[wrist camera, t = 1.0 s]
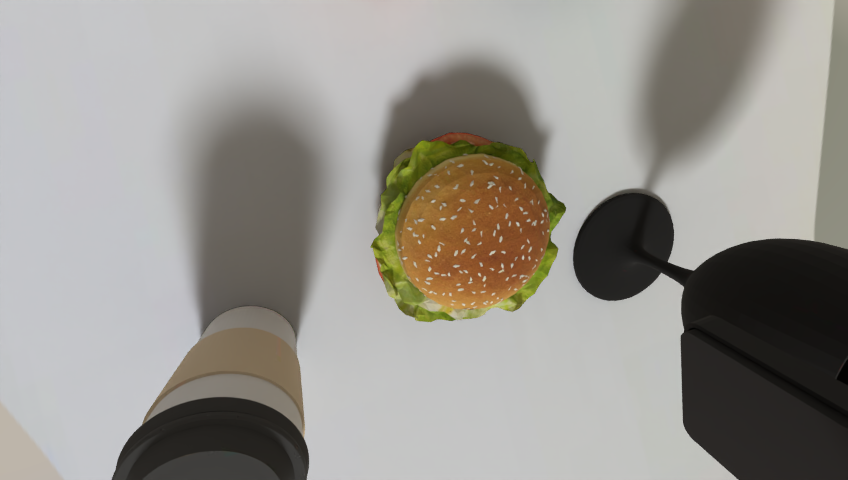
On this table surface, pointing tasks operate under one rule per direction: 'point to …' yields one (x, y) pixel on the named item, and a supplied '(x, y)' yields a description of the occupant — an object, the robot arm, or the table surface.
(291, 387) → the coffee cup
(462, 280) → the food
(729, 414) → the robot arm
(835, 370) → the wine glass
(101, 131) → the table surface
